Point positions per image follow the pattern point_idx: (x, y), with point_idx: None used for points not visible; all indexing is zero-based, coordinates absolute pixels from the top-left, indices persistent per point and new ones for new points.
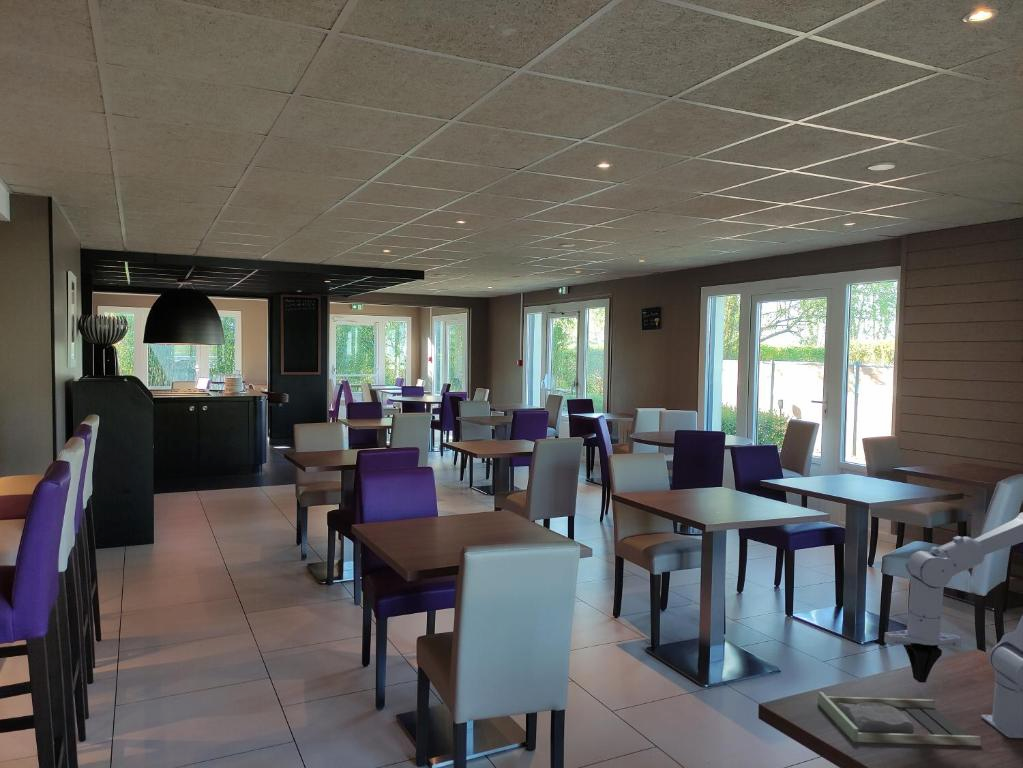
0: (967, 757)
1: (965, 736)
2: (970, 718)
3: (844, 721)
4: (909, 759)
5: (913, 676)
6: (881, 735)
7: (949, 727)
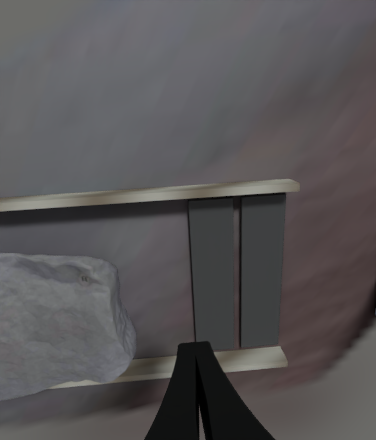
0: None
1: (250, 368)
2: (356, 231)
3: None
4: (84, 417)
5: (178, 350)
6: None
7: (256, 295)
